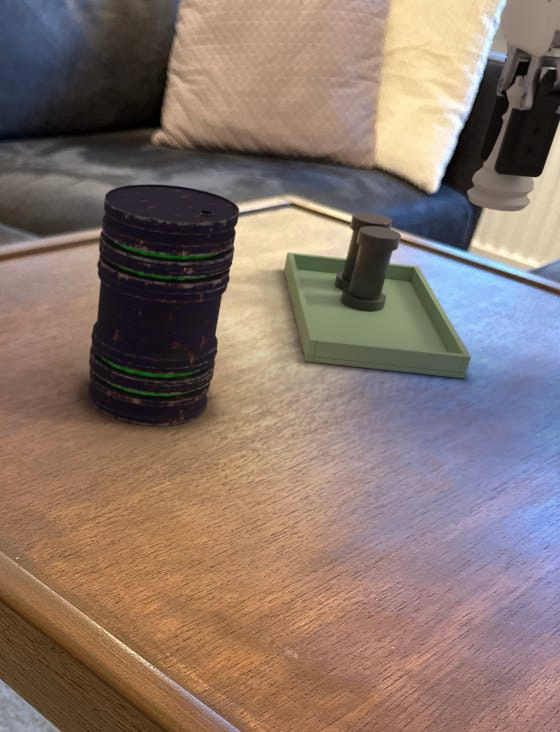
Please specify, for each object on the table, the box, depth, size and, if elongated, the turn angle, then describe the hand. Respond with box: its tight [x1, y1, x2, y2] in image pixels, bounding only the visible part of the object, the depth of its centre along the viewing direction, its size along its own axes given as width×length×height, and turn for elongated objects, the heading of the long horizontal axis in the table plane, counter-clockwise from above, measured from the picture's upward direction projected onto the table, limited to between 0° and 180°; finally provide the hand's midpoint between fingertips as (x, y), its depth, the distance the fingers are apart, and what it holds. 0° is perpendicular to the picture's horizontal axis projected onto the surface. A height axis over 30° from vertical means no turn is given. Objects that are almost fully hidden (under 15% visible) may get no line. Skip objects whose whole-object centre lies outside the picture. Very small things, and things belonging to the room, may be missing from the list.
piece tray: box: [283, 251, 472, 379], centre depth 97 cm, size 14×25×2 cm, turn 175°
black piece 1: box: [334, 211, 393, 290], centre depth 101 cm, size 4×4×7 cm
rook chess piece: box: [466, 76, 542, 212], centre depth 69 cm, size 4×4×8 cm
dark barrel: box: [87, 183, 240, 427], centre depth 74 cm, size 10×10×15 cm
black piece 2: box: [340, 226, 402, 312], centre depth 97 cm, size 4×4×7 cm
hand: (508, 164), depth 70 cm, fingers closed on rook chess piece, 3 cm apart
